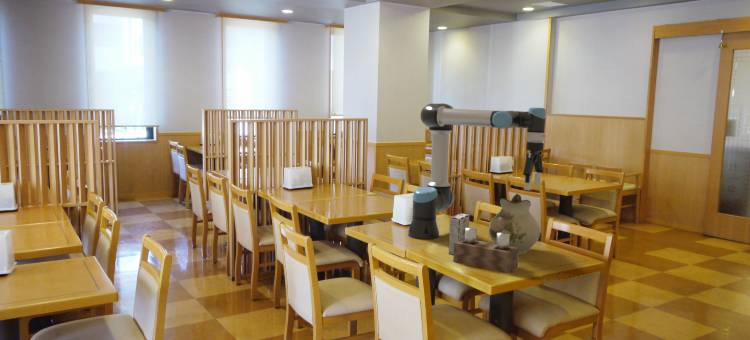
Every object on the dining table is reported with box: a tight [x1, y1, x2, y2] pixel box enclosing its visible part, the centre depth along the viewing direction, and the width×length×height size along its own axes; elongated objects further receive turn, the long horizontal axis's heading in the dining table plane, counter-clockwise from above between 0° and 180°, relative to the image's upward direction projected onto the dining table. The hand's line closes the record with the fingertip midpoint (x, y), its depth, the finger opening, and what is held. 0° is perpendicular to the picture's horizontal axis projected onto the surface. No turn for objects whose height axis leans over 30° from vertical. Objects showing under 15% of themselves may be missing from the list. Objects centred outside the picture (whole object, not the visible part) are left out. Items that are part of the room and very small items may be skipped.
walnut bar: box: [452, 238, 519, 273], centre depth 234 cm, size 24×10×8 cm, turn 56°
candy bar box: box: [448, 213, 470, 256], centre depth 252 cm, size 11×5×16 cm, turn 148°
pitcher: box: [488, 193, 541, 256], centre depth 256 cm, size 22×24×25 cm
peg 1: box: [464, 226, 478, 245], centre depth 237 cm, size 5×5×8 cm
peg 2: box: [496, 232, 510, 251], centre depth 230 cm, size 5×5×8 cm
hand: (532, 188), depth 261 cm, fingers open, 13 cm apart
